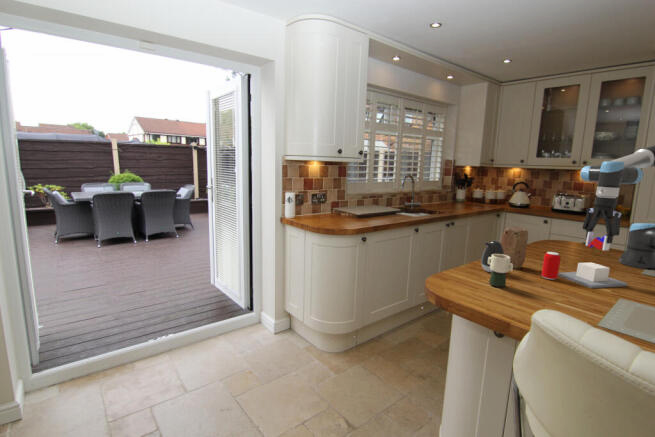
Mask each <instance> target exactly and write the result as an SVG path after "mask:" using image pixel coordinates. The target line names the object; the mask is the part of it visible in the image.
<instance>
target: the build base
mask: <svg viewBox="0 0 655 437" xmlns="http://www.w3.org/2000/svg"><path fill="white" fill-rule="evenodd" d="M610 268H611V267H609V266H604V265H603V264H597V263H594V262H578V263H577V268H576V271H571V272H558V277H561V278H563V279H566V280H569V281H571V282H574V283H576V284H579V285H581V286H584V287H587V288H589V289H598V288H600V289H602V288H615V287H616V288H617V287H627V286H628V283H627V282H624V281H621V280H618V279H615V278H613V277H611V276H610V277H609V274H610Z"/></svg>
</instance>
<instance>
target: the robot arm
mask: <svg viewBox="0 0 655 437" xmlns="http://www.w3.org/2000/svg"><path fill="white" fill-rule="evenodd" d="M651 167H653V168H655V144H654V145H651V146H648V147H644V148H641V149H637V150H636V151H634V153H632V154H628V155H625V156H622V157H619V158H616V159H612V160H610V161H609V160H606V161H605V160H604V161H603V162H601V163H600V164H597V165H586V166H584V167H582V168H581V170H580V178H581V180H583V182H590V183H591V182H593V183H597V185H596V186H597V187H596V191H595V197H594V202H593V205H594V206H593V207H591V208H589V207H588V208H586V215H585V218H584V221H583V225H582V229H583V230H584V231H586V233H585V238H586V241H585V246H588V245H589V244H590V243H591V242H592V241H593V240H594V238H595V237H594V236H595V231H594V230H595V228H596V226H597V224H598V222H599V221H600V220H601V219H602V220H603V221H604V226H605V229H606V234H605V235H606V236H605V238H604V243H603V248H602V249H601V250H602V251H609V250H610V246H611V244H612V243H613V240H614V237H617V236H619V235H620V229H621V228H620V227H621V218H622V216H623V213H622V212H618V211H616V206H617V204H618V197H619V192H620V187H621V185H633V184H638V183H640V182H641V181H642V179H643V178H644V171H643V170H642V169H647V168H651ZM628 232H629V233H628V236H627V237H628V238H627V242H626V248H625V250H624V251H623V252H622V254H621V256H620V257H619V260H618V262H619V263H620V264H623V265H624V266H629V267H632V268H638V269H643V270H648V269H647V268H655V223H650V222H649V223H648V222H647V223H645V222H644V223H643V222H642V223H641V222H635V223H632V224H631V225H630V227H629V231H628Z"/></svg>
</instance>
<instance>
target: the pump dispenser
mask: <svg viewBox="0 0 655 437" xmlns="http://www.w3.org/2000/svg"><path fill="white" fill-rule="evenodd" d="M483 244H484V245H485V246H486V247H485V249H484V251H483V253H482V256H481V259H480V264H481V266H482V269H483V270H484V271H485V272H487V273H490V274H491V273H492V272H493V271H492V270H491V269H490V265H489V264H488V258H489V257H491V256H492V254H503V255H504V251H503V247H502V245H501V242H500V241H498V240H491V241H490V242H486V241H484V243H483ZM490 263H491V259H490Z"/></svg>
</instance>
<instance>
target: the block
mask: <svg viewBox="0 0 655 437" xmlns="http://www.w3.org/2000/svg"><path fill="white" fill-rule="evenodd" d="M528 240H529V231H528V230H527V229H525V228H522V227H518V226H517V227H516V226H510V227H507V228H505V230H504V231H503V233H502V236H501V242H500V243H501V245H502V247H503V251H504V255H507V256H509V257H510V263H512V264H513V269H514V270H515V269H516V270H517V269H521V268H522V267H523V264H524V263H525V261H526V254H527V247H528Z"/></svg>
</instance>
